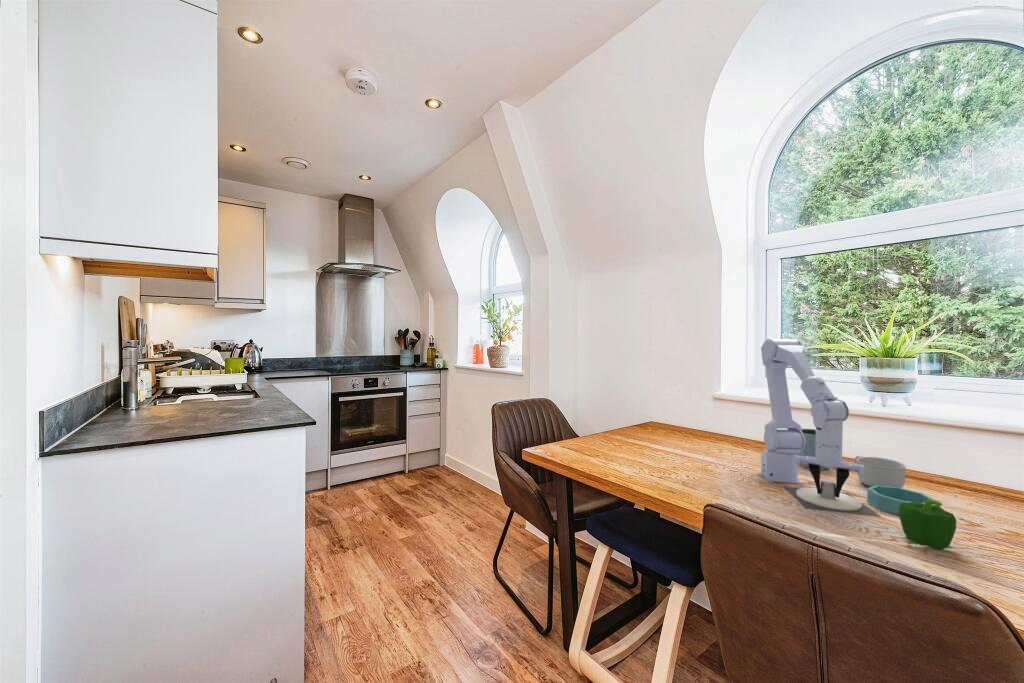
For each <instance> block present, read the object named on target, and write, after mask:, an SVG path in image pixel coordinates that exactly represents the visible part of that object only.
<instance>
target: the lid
mask: <svg viewBox="0 0 1024 683" xmlns="http://www.w3.org/2000/svg"><path fill="white" fill-rule="evenodd" d="M799 488H800V489H798V490H797V491H796V495H797V497H798V498H800V499H801V500H803V501H805V502H808V503H810V504H813V505H816V506H820V507H824V508H828V509H833V510H840V511H858V510H860V509H862V503H863V502H862V501H860V500H859V499H857V498H856V497H854V496H853V497H851V496H849V495H846V494H843V493H840V494H839V498H838V497H836V496H835V495H836V482H833V481H830V480H820V490H821V494H817V488H816V487H799Z"/></svg>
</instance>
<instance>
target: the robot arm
mask: <svg viewBox="0 0 1024 683" xmlns="http://www.w3.org/2000/svg"><path fill="white" fill-rule="evenodd" d="M760 351H761V358H762V359H761V360H762V366H765V375H766V376H765V377H766V380H767V388H768V389H767V390H768V396H769V404H770V411H771V418H772V419H771V420H770V421H769V422H767V423H765V425H764V434H763V442H764V444H765V446H766V447H767V449H763V450H762V451H761V454H760V455H761V456H760V458H761V460H760V474H761V475H762V476H763V477H764V478H765V479H766V480H767V481H772V482H780V483H781V482H782V483H791V484H792V483H793V484H804V482H803V481H801V479H800V478H798V477H799V476H798V475H799V464H806V465H809V468H808V470H809V473H810V475H811V476H812V478H813V481H814V484H815V488H817V494H821V490H820V489H821V470H820V467H826V468H829V469H832V470H833V469H834V470H836V473H835V475H836V478H835V480H836V481H835V483H836V495H835V496H836V497H838V498H839V494H840V492H842V491H841V490H842V488H843V486H844V484H845V483H846V481H847V480H848V478H849V476H850V472H851V473H853V472H854V473H857V474H858V473H860V474H864V465H860V464H855V462H850V461H844V460H843V427H844V426H843V424H844V423H843V422H845V421H846V420H848V418H849V415H850V409H849V407H848V405H847V403H846V401H844V400H843V399H839V397H838V396H834V394H833V392H832V391H831V389H830V388H829V387H828V385H827V384H826V382H825V380H824V379H823V378H822V377H820V376H819V377H818V376H816V375H815V374H814V372H813V370H812V368H811V366H810V364H809V362H808V360H807V358H806V356H805V353H806V348H805V346H804V344H803V343H802V341H801V340H800V339H798V338H793V339H789V338H788V339H787V338H785V339H783V338H782V339H780V338H779V339H776V338H775V339H774V338H767V339H765V341H764V342H763V344H762V346H761V347H760ZM788 367H790V368H792V370H793V371H794V372H795V374H796V375H797V377H798V378H799V379H800V380H801V384H800V389H801V391H802V392H803V393H804V394H803V395H805V397H806V399H807V400H808V402H809V403H810V405H811V408H809V411H810V414H811V416H812V419H813V426H814V427H815V429H816V443H815V457H810V456H799V455H798V453H801V450H802V449H803V448H804V447H805V443H806V440H805V437H804V435H803V433H802V430H801V429H802V425H800V424H799V423H798V422H796V421H795V420H794V419H793V415H792V410H791V409H792V408H791V403H790V396H789V395H790V394H789V389H788V388H789V387H788V381H787V374H786V369H787V368H788Z"/></svg>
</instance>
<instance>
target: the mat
mask: <svg viewBox="0 0 1024 683" xmlns="http://www.w3.org/2000/svg"><path fill="white" fill-rule="evenodd" d="M783 488H784V489H785V491H787V492H788V493H789V494H790V495H791V496H792V497H793V498H794V499H795V500H796V501H798V503H799V504H800V505H802V507H804V509H807V510H817V511H825V512H835V513H843V514H852V515H860V516H861V515H862V516H871V517H881V518H882V516H881V515H880V514H878V513H877V512H876V511H874V510H873V509H872V508H870V507H869V506H867V505H866V504H864V503H863V502H861V503H862V509H860V510H858V511H840V510H833V509H828V508H824V507H820V506H816V505H813V504H810V503H808V502H805V501H803V500H801V499H800V498H798V497H797V495H796V491H797V490H798V489H800V488H801V487H790V486H783ZM840 493H843V494H846V495H849V496H851V497H854V496H853V495H852V494H850V493H848V492H842V491H840Z"/></svg>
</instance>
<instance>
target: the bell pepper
mask: <svg viewBox="0 0 1024 683" xmlns="http://www.w3.org/2000/svg"><path fill="white" fill-rule="evenodd" d="M933 499H934V498H933ZM933 499H932V500H927V501H926V502H925V504H923V503H920V502H918V501H915V502H910V503H901V505H900V506H899V515H898V516H899V520H900V524H901V527H902V531H903V534H904V535H905V537H906V538H907V539H908V540H910V541H912V542H914V543H916V544H920V545H922V546H923V545H924V546H925V545H926V546H928V547H929V548H934V549H938V550H939V549H940V550H944V549H946V548H948V547H949V546H950V545H951V543H952V541H953V538H954V536H955V533H956V530H957V519H956V517H955V515H954V514H953V513H952V512H949V511H947V510H945V509H943V508H942V507H941V506H943V503H942V502H941V501H939V500H938V499H937V500H936V499H934V500H933ZM932 504H935V505H932ZM936 505H937V506H936Z"/></svg>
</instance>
